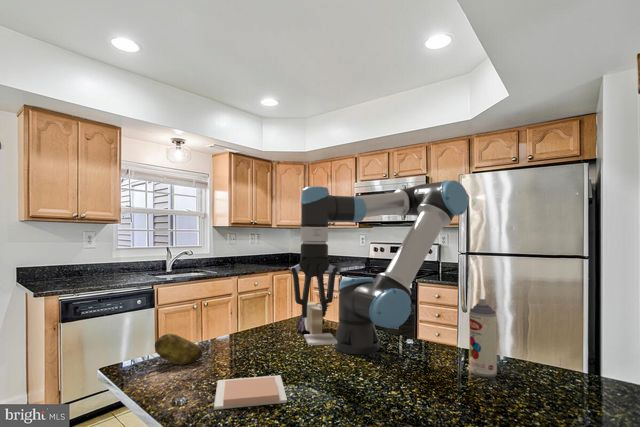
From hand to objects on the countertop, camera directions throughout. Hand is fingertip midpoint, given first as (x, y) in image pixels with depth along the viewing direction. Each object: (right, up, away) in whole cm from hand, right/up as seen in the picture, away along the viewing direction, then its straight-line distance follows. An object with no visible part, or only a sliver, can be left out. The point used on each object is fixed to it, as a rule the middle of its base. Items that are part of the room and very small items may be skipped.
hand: (313, 329), depth 98 cm
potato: (-40, -12, +7) cm, 42 cm away
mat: (-15, -12, -11) cm, 22 cm away
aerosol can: (+47, -13, +2) cm, 49 cm away
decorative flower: (0, -14, +41) cm, 44 cm away
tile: (-15, -10, -9) cm, 21 cm away
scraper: (+1, 0, -3) cm, 3 cm away
